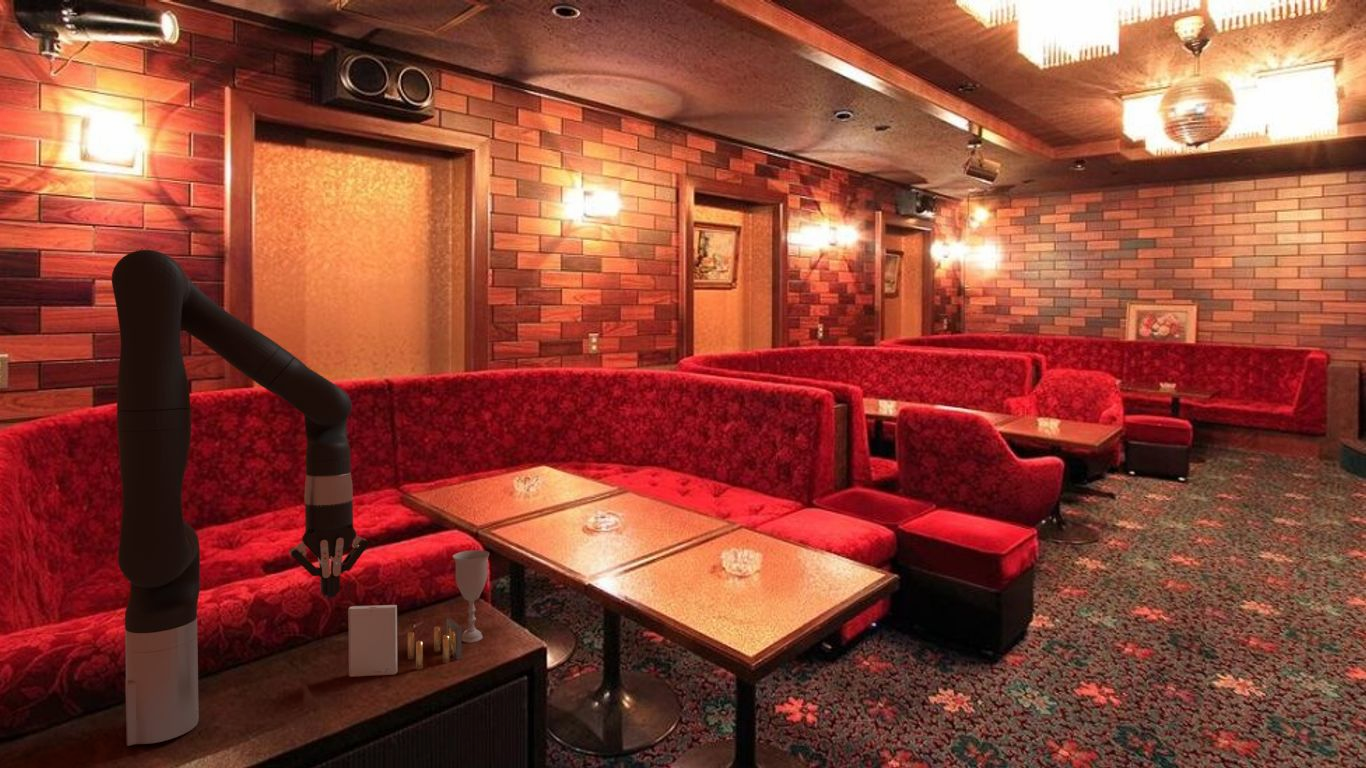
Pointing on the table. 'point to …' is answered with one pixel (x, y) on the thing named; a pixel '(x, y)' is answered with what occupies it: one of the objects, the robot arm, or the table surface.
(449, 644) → the candles
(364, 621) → the external hard drive
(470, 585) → the chalice
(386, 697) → the table surface
